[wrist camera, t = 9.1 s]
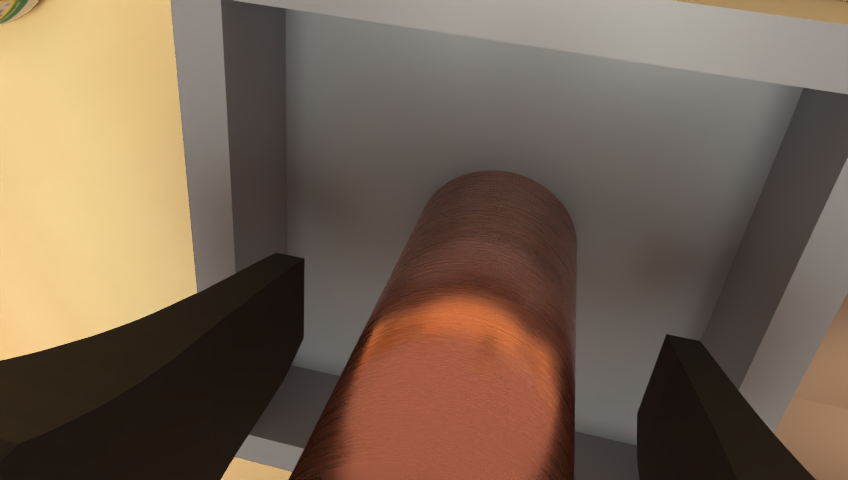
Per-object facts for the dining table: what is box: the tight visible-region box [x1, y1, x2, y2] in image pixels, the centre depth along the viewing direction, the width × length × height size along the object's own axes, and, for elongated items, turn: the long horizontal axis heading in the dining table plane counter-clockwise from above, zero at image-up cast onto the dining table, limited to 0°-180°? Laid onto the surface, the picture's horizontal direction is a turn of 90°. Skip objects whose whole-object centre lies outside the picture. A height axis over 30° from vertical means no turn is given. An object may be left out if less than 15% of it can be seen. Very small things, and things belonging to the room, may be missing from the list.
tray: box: [171, 0, 848, 480], centre depth 15 cm, size 13×13×4 cm
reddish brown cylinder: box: [289, 170, 577, 480], centre depth 12 cm, size 4×4×9 cm
